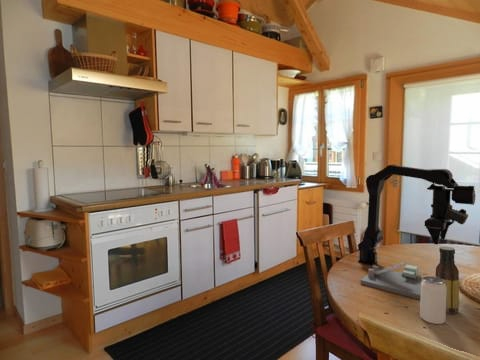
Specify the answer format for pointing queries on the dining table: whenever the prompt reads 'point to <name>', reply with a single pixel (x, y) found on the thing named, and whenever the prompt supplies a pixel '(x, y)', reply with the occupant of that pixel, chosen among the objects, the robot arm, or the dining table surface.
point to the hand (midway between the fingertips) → (439, 241)
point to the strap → (390, 268)
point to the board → (394, 282)
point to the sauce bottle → (449, 278)
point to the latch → (410, 271)
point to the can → (433, 300)
